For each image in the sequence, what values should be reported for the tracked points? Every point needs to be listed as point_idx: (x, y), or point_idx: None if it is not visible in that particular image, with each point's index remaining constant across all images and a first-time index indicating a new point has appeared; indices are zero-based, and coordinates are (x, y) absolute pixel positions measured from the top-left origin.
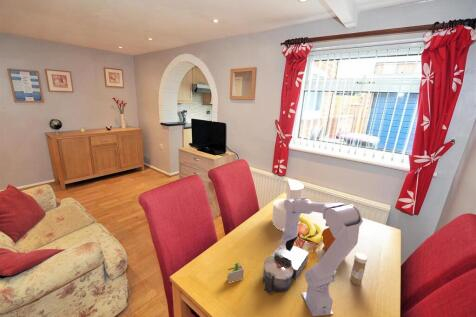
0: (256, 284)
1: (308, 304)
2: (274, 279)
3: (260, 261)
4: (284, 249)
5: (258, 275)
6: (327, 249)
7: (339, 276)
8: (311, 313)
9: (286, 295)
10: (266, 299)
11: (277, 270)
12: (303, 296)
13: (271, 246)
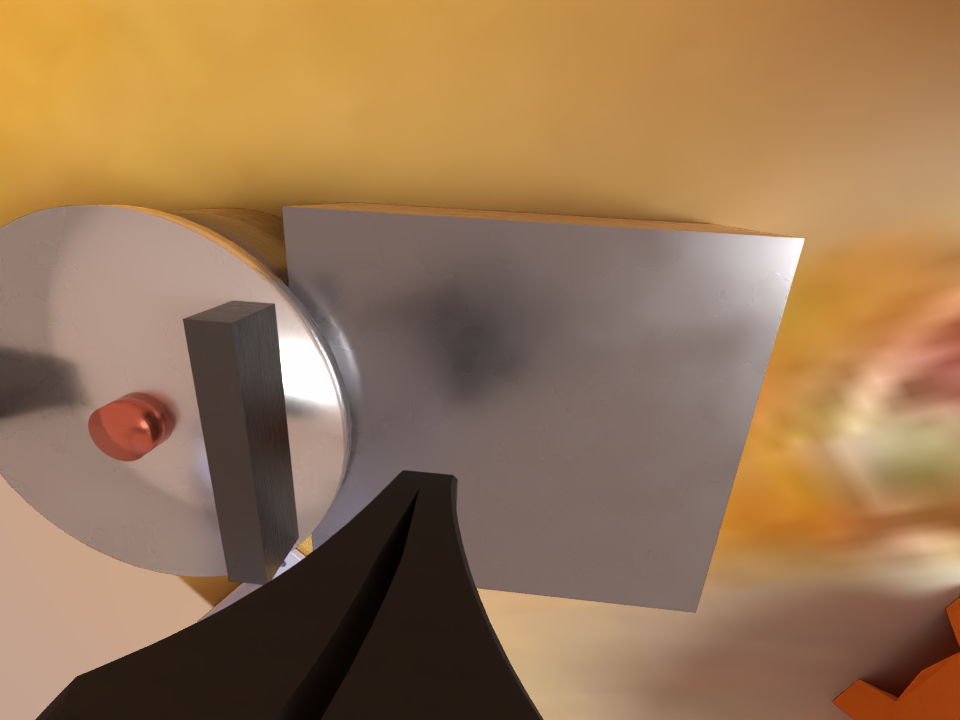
0: (67, 205)
1: (236, 599)
2: None
3: (345, 54)
4: (572, 334)
5: (161, 160)
6: (956, 660)
7: (636, 710)
8: (202, 617)
9: None
10: None
11: (77, 433)
12: None
13: (731, 21)
